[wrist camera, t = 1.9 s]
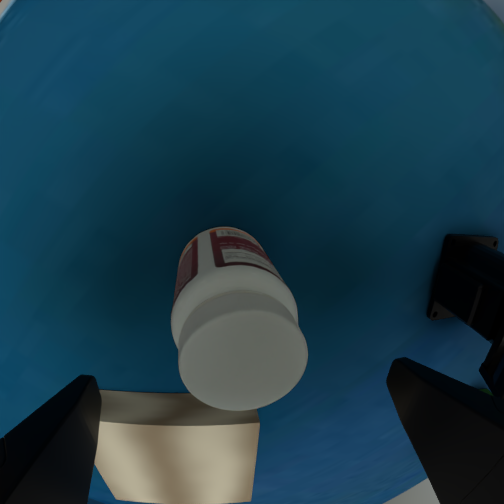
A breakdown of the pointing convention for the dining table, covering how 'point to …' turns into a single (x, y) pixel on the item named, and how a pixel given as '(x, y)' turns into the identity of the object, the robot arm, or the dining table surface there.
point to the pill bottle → (235, 323)
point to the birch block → (175, 449)
